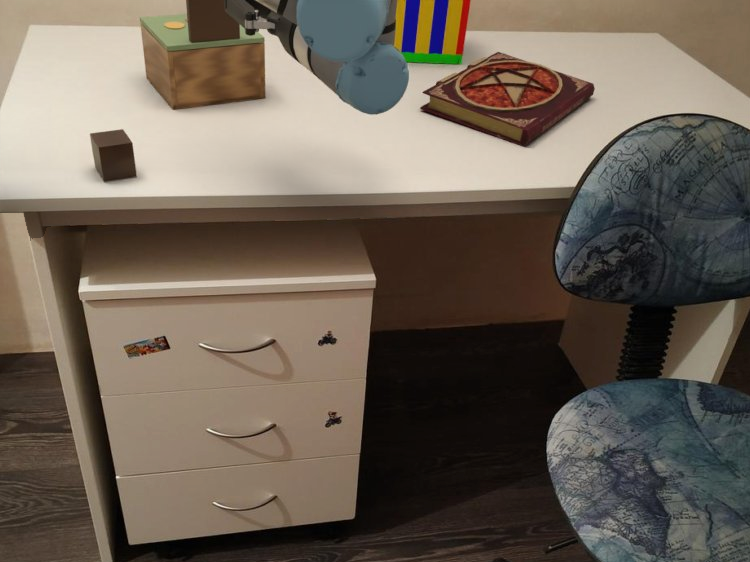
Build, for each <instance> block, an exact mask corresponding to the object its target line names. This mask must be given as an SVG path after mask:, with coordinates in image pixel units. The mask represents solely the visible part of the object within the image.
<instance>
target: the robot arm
mask: <svg viewBox="0 0 750 562" xmlns="http://www.w3.org/2000/svg"><path fill="white" fill-rule="evenodd" d="M396 9H397V0H225V12H226V13H227V14H229V15H230V16H231V17H232V18H233V19H234V20H235V21H237V22H238V23H239V24H240V25H241V26H242V27H243V28H244V29H245V34H246V35H249V36H252V35H255V32H259V33H260V30H266V31H267V33H269V34H270V35H272V36H275V37H277V38H278V39H279V41H280V43H281V45H282V48H283V49H284V51H285V52H286V53H287V54H288V56H290V57H292V58H293V60H295V61H296V62H298V63H299V64H300V65H302V66H303V67H304V68H305V69H306V70H308V71H309V72H310V73H311V74H313V76H315V77H316V78H317V79H318V80H320V81H321V83H323V84H324V85H325V86H326V87H327V88H328V89H330V90H331V92H333V93H334V94H335V95H336V96H337V97H338V98H339V99H340V100H341V101H342V102H343V103H345V104H347V105H349V106H350V107H352V108H353V109H355V110H356V111H358V112H360V113H363V114H366V115H372V116H373V115H380V114H384V113H386V112H388V111H390V110H391V109H393V108H394V107H395V106H396V105H397V104H398V103H400V101H401V100H402V98H403V97H404V94H405V93H406V91H407V89H408V85H409V80H410V70H409V66H408V62H406V61H405V58H404V57H403V55H402V54H401V53H400V51H399V50H398V49H397V48H396V47H394V42H395V31H396V19H395V18H396Z"/></svg>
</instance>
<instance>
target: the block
mask: <svg viewBox="0 0 750 562" xmlns="http://www.w3.org/2000/svg"><path fill="white" fill-rule="evenodd" d="M89 137H90V145H91V151H92V156H93V162H94V168H95V169H96V171H97V173H98V174H99V176H100V177H101V180H102V181H103V182H104V183H105V182H106V183H107V182H112V181H117V180H118V181H119V180H124V179H131V178H137V177H138V174H137V168H136V159H135V153H134V145H133V144H134V143H133V141H132V140H131V139H130V137H129V136H128V134H127V133H126V131H125V129H124V128H120V129H114V130H106V131H99V132H98V131H97V132H90V133H89Z"/></svg>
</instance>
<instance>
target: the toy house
mask: <svg viewBox="0 0 750 562" xmlns="http://www.w3.org/2000/svg"><path fill="white" fill-rule="evenodd" d="M471 2H472V0H397V9H396V18H395V19H396V31H395V42H394V47H396V48H397V49H398V50H399V51H400V53H401V54H402V55H403V57H404V58H405V61H406V63H419V64H423V63H424V64H425V63H427V64H430V63H431V64H445V65H446V64H447V65H450V64H452V65H454V64H455V65H462V62H463V55H464V49H465V43H466V42H465V41H466V34H467V28H468V22H469V13H470V8H471Z"/></svg>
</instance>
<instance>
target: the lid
mask: <svg viewBox="0 0 750 562" xmlns="http://www.w3.org/2000/svg"><path fill="white" fill-rule="evenodd" d="M185 4H186V13H179V14H178V13H177V14H165V15H153V16H140V17H139V23H142V24H143V26H144V27H145V28H146V29H147V30H148V31H149V32H150V33H151V34H152V35H153V36H154V37H155V38H156V40H157V41H158V42H159V43H160V44H161V45H162V46H163V47H164V48H165V49H166V50H167V51H177V50H187V49H198V48H209V47H220V46H231V45H241V44H252V43H263V42H264V43H265V42H266V41H265V36H263V34H262V33H260V31H259V32H255V35H252V36H249V35H246V34H245V29H244V28H243V27H242V26H241V25H240V24H239V23H238V22H237V21H235V20H234V19H233V18H232V17H231V16H230V15H229V14H227V13H226V12H225V0H185Z"/></svg>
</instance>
